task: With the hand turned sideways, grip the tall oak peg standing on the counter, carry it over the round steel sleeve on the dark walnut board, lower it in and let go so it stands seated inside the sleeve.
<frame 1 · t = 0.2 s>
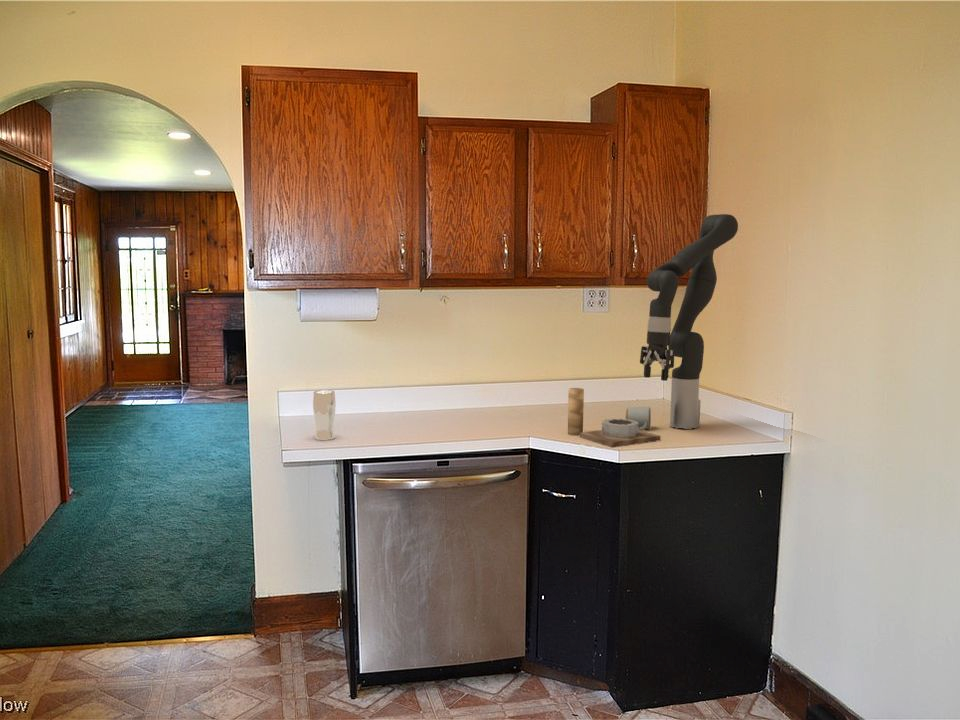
hand: (655, 378, 265), 18 cm above the table, tool pointing down, fingers open, 8 cm apart
steel sleeve: (620, 428, 254), on the walnut board, point 4 cm above the table
ceramic mug: (638, 429, 271), on the table
beer glass: (324, 438, 253), on the table
oak peg: (575, 433, 262), on the table
walnut board: (619, 438, 255), on the table
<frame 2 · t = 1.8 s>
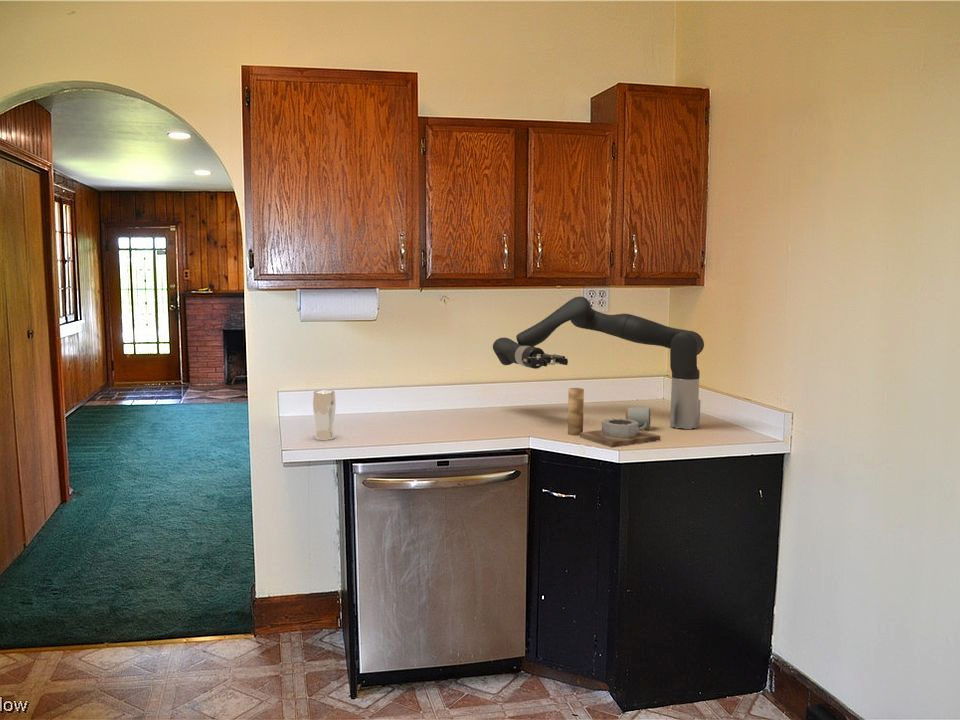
hand: (556, 362, 268), 23 cm above the table, tool horizontal, fingers open, 8 cm apart
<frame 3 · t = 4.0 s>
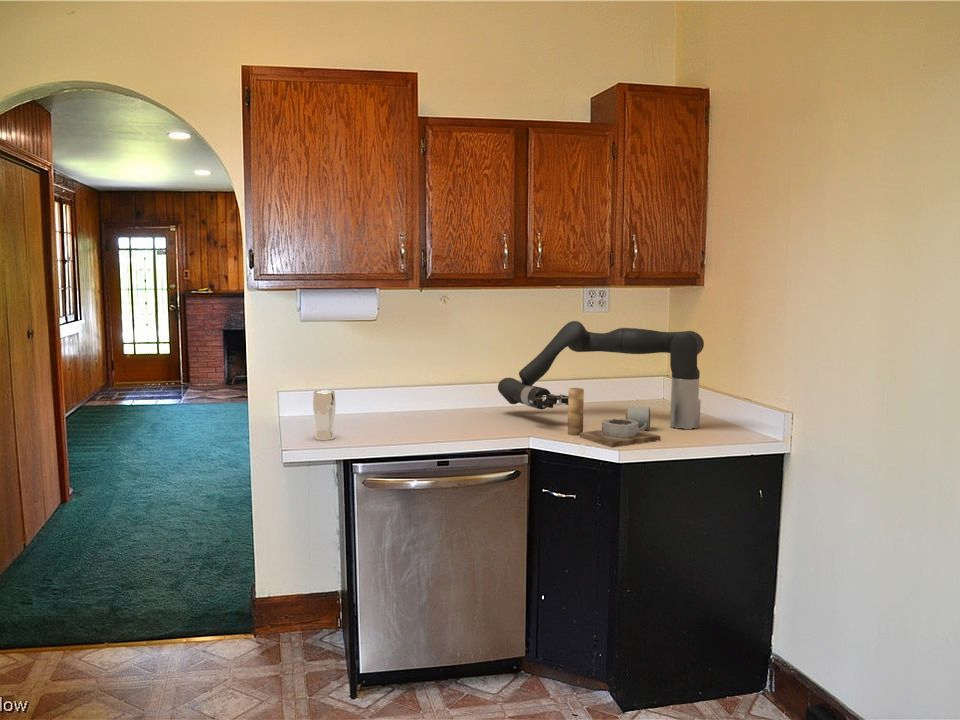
hand: (562, 403, 267), 9 cm above the table, tool horizontal, fingers open, 8 cm apart
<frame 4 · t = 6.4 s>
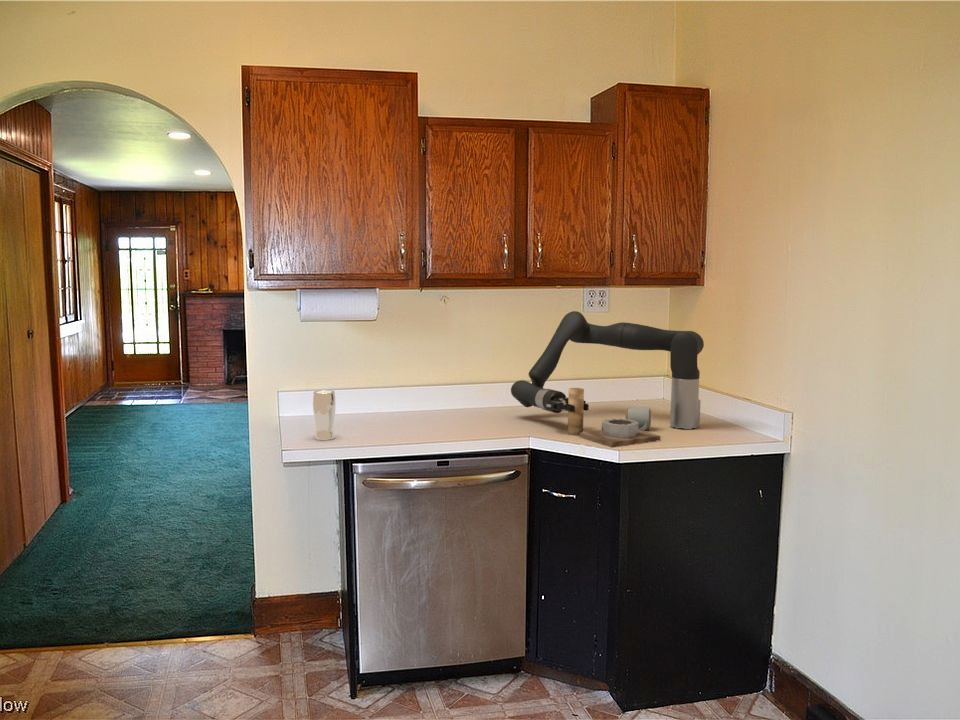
hand: (580, 408, 259), 9 cm above the table, tool horizontal, fingers closed on oak peg, 5 cm apart
oak peg: (575, 433, 262), on the table, touching gripper
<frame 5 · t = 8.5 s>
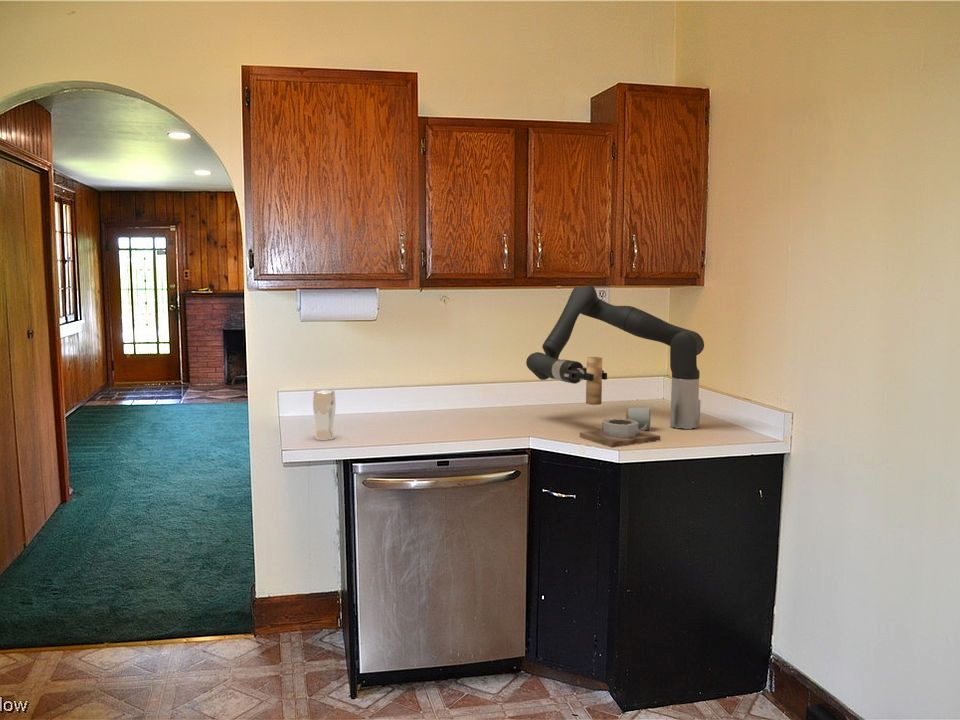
hand: (599, 377, 254), 20 cm above the table, tool horizontal, fingers closed on oak peg, 5 cm apart
oak peg: (593, 403, 258), point 11 cm above the table, touching gripper
when the fingers open (12 cm above the table, at t = 11.0 s): oak peg drops 1 cm, resting on walnut board.
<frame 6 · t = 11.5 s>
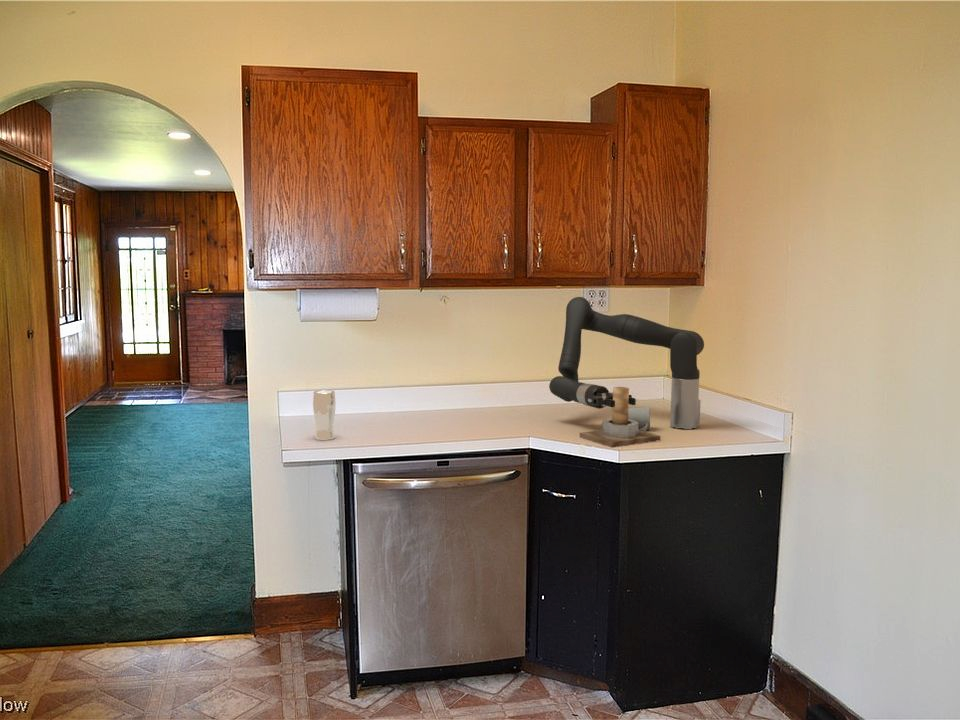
hand: (624, 403, 252), 12 cm above the table, tool horizontal, fingers open, 8 cm apart
oak peg: (619, 434, 255), point 2 cm above the table, touching walnut board
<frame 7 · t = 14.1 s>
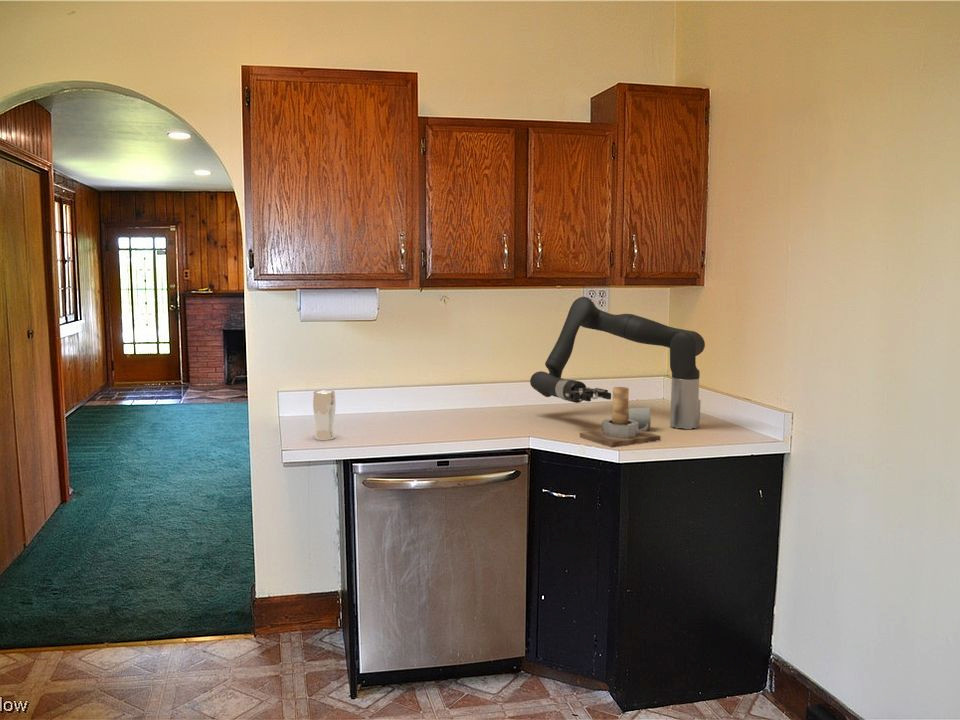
hand: (600, 397, 262), 12 cm above the table, tool horizontal, fingers open, 8 cm apart
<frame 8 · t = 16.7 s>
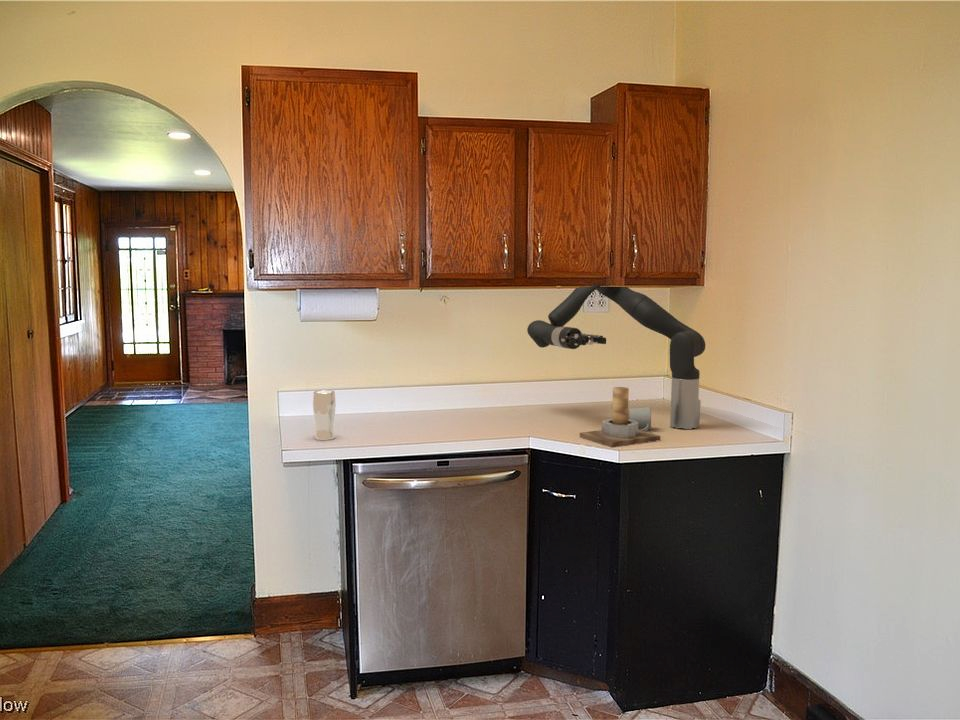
hand: (595, 341, 266), 30 cm above the table, tool horizontal, fingers open, 8 cm apart
ceramic mug: (639, 431, 268), on the table, touching walnut board
everything else where it was.
at the end: oak peg 0.1 cm off-centre on the steel sleeve, point 1.5 cm above the steel sleeve's base; oak peg tilted 0°; the gripper is holding nothing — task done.
